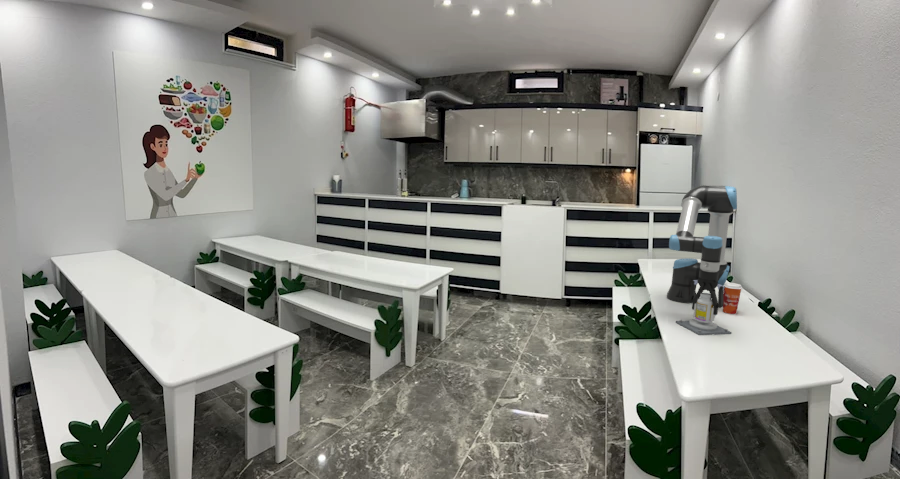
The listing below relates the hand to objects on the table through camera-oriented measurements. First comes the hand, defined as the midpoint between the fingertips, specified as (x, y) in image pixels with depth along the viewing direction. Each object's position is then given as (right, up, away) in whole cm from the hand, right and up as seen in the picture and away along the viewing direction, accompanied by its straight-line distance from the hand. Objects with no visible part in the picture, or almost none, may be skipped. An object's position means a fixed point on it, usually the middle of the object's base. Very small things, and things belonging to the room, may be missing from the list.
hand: (703, 318), depth 203 cm
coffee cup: (+28, -1, +25) cm, 37 cm away
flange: (0, -4, +1) cm, 4 cm away
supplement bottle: (0, -1, 0) cm, 1 cm away
